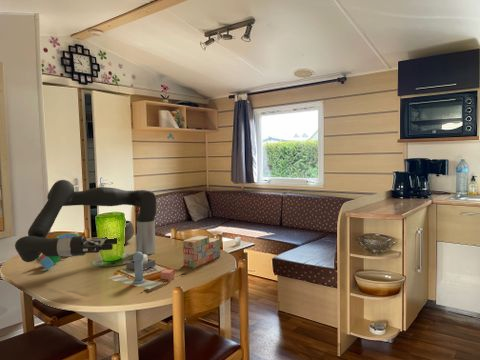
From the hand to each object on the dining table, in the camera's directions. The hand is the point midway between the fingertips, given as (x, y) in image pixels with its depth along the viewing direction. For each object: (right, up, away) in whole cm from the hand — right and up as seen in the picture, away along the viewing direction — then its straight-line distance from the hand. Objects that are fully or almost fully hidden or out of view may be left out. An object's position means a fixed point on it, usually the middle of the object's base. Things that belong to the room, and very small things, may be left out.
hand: (114, 243), depth 148 cm
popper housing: (+5, -15, +22) cm, 27 cm away
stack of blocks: (+31, -15, +35) cm, 49 cm away
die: (+19, -16, +7) cm, 26 cm away
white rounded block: (+5, -14, +21) cm, 26 cm away
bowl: (-22, -12, +73) cm, 77 cm away
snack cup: (-40, -14, +48) cm, 64 cm away
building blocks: (-39, -16, +27) cm, 50 cm away
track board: (+7, -17, +3) cm, 18 cm away
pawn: (+9, -16, +2) cm, 18 cm away
